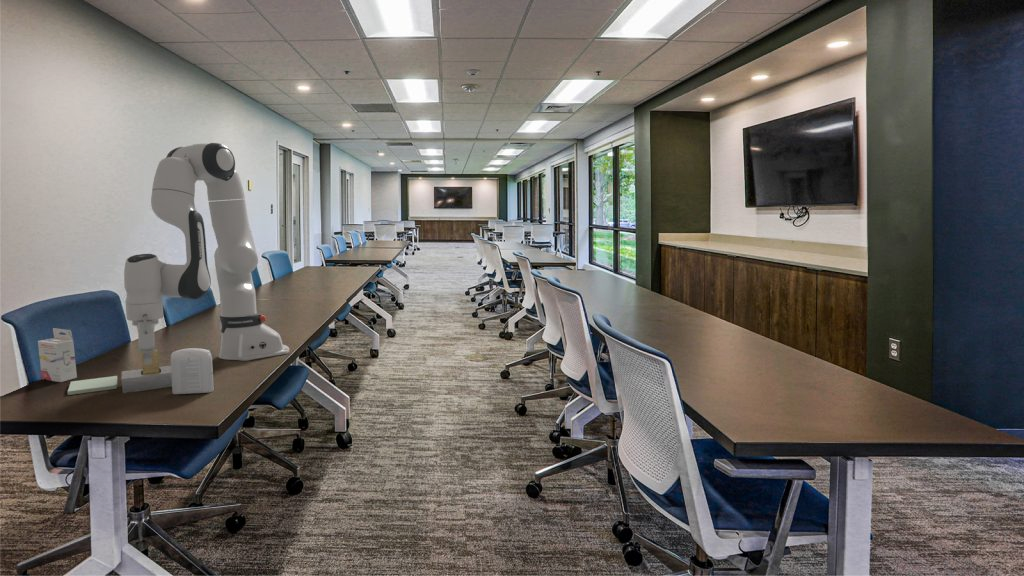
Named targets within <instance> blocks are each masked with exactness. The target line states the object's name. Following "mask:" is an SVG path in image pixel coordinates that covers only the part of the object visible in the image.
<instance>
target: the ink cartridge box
mask: <svg viewBox="0 0 1024 576" xmlns="http://www.w3.org/2000/svg"><path fill="white" fill-rule="evenodd" d="M52 333H53V338H46V339H42V340H37V346H38V356H39V363H40V365H39V366H40V374H41V380H44V379H46V381H51V382H56V383H57V382H58V383H64V382H66V381H70V380H74V379H77V378H78V375H77V366H76V356H75V355H76V354H75V347H74V338H73V334H72V331H71V329H63V328H54V327H53V328H52ZM60 333H63V334H60Z"/></svg>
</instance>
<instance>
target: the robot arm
mask: <svg viewBox="0 0 1024 576" xmlns="http://www.w3.org/2000/svg"><path fill="white" fill-rule="evenodd" d="M235 159H236V158H235V157H234V154H233V152H232V150H231V149H230V148H229V146H226V145H225V144H222V143H218V142H210V143H195V144H192V145H186V146H179V147H176V148H173V149H172V150H171V151H169V152H168V153H167V155H166V157H165V158H164V157H163V159H161V160H160V161H159V162H158V164H157V168H156V170H155V173H154V177H153V182H152V188H151V195H150V196H151V197H150V207H151V210H152V212H153V213H154V214H155V216H156V217H158V218H159V220H162V221H163V222H165V223H167V224H169V225H172V226H174V227H176V228H178V229H180V230H181V232H182V233H183V235H184V238H185V239H184V240H185V241H184V242H185V251H186V263H184V264H171V263H166V262H163V261H161V260H159V258H158V256H157V255H156V254H153V253H142V254H141V253H140V254H134V255H131V256H129V257H128V258H127V259H126V260H125V262H124V263H125V264H124V269H123V270H124V272H123V282H124V290H125V291H126V292H125V293H126V299H125V312H126V313H125V314H126V315H125V316H126V320H127V321H130V322H132V326H135V327H136V329H137V334H138V335H137V337H138V340H137V341H138V349H139V350H138V351H139V352H141V351H143V357H144V364H145V365H149V364H151V363H152V350H154V349H156V345H155V343H156V342H155V325H158V324H159V323H160V322H159V319H162V318H164V307H163V306H164V304H163V297H165V298H182V299H188V300H190V299H191V300H199V299H200V298H202V297H203V296H205V295H206V294H207V292H208V291H209V290H210V288H211V284H212V282H211V281H212V280H211V274H210V270H209V266H208V255H207V254H208V253H207V243H206V242H207V241H206V230H205V229H206V228H205V223H204V218H203V216H202V214H201V213H200V212H198V211H197V208H196V205H195V191H196V182H197V181H203V183H204V184H205V186H206V194H207V201H208V207H209V209H208V210H209V214H210V219H211V225H212V229H213V232H214V236H215V239H216V243H217V248H216V250H215V251H214V253H213V254H214V255H213V257H214V264H215V265H214V266H215V274H216V279H217V285H218V290H219V302H220V316H219V330H220V332H221V340H220V348H219V349H220V350H219V352H218V353H219V354H218V358H219V359H222V360H231V361H232V360H234V361H236V360H237V361H242V362H243V361H244V362H245V361H251V360H257V359H263V358H270V357H275V356H276V357H277V356H280V355H287V354H289V353H290V347H289V346H288V345H286V344H283V340H282V337H281V335H280V334H279V332H278V331H276V330H274V329H273V328H271V327H270V326H268V325H266V324H265V323H264V322H266V321H267V319H268V318H267V316H265V315H264V314H260V313H258V312H257V298H256V297H257V296H256V295H257V294H256V293H257V292H256V288H255V285H254V280H253V276H252V275H253V274H252V273H253V271H255V269H256V268H257V266H258V264H259V263H258V262H259V258H258V254H257V250H256V247H255V242H254V238H253V234H252V231H251V228H250V227H251V226H250V224H249V218H248V217H249V216H248V210H247V204H246V197H245V192H244V188H243V184H242V181H241V177H240V174H239V173H238V171H237V170H236V161H235Z"/></svg>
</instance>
